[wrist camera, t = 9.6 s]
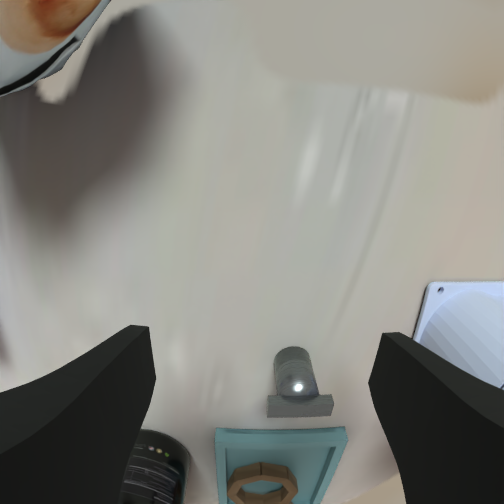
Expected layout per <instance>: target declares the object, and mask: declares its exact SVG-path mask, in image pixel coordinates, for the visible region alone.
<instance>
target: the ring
mask: <svg viewBox="0 0 504 504" xmlns="http://www.w3.org/2000/svg"><path fill="white" fill-rule="evenodd" d="M260 480H263V481H270V482H276V483H282V485H283V487H282V488H281V490H279V491H275V492H271V493H268V494H264V495H261V494H255V493H249V492H245V491H244V490H243V489H242V488H241V486H242V485H245V484H249V483H253V482H256V481H260ZM297 493H298V485H297V479H296V477H295V476H294V475H293V474H292V472H291V471H290V470H289V468H288V467H286V466H282V465H276V464H270V463H265V462H261V463H260V462H258V463H254V464H251V465H247V466H243V467H240V468H236V469H235V470H234V471H233V473H232V475H231V477H230V479H229V480H228V482H227V496H228V497H229V498H230V499H231V500H232V501H233V502H234V503H235V504H293V503H292V502H291V500H292V499H293V498H294V497H295V495H296V494H297Z"/></svg>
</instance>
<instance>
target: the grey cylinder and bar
mask: <svg viewBox="0 0 504 504" xmlns="http://www.w3.org/2000/svg"><path fill="white" fill-rule="evenodd" d="M274 367H275V377H276V388H277V396H268V400H267V417H317V416H331V413H332V410H333V406H334V402H333V398H332V395H331V394H330V395H319V392H318V388H317V384H316V380H315V376H314V372H313V368H312V364H311V360H310V356H309V354H308V352H307V351H306V350H304V349H303V348H300V347H287V348H284V349H282V350H281V351H280V352H279V353H278V354H277V355H276V357H275V359H274Z"/></svg>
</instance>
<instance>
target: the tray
mask: <svg viewBox="0 0 504 504" xmlns="http://www.w3.org/2000/svg"><path fill="white" fill-rule="evenodd" d="M347 441H348V437H347V434H346V431H345V427H335V428H320V429H297V430H250V429H226V428H216V433H215V456H216V470H217V483H218V495H219V504H235V503H234V502H233V501H232V500H231V499H230V498H229V497H228V496H227V482H228V480H229V479H230V477H231V475H232V473H233V471H234V470H235V469H236V468H240V467H243V466H247V465H251V464H254V463H258V462H260V463H261V462H265V463H270V464H276V465H282V466H286V467H288V468H289V470H290V471H291V472H292V474H293V475H294V476H295V477H296V479H297V485H298V493H297V494H296V495H295V497H294V498H293V499H292V500H291V502H292V503H293V504H320V503H321V501H322V499H323V497H324V494H325V492H326V490H327V488H328V486H329V484H330V482H331V479H332V477H333V475H334V473H335V470H336V468H337V466H338V463H339V461H340V459H341V456H342V454H343V451H344V449H345V446H346V444H347ZM282 487H283V485H282V483H276V482H270V481H263V480H260V481H256V482H253V483H249V484H245V485H242V486H241V488H242V489H243V490H244V491H245V492H249V493H255V494H261V495H264V494H268V493H271V492H275V491H279V490H281V488H282Z"/></svg>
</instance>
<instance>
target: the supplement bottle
mask: <svg viewBox="0 0 504 504" xmlns="http://www.w3.org/2000/svg"><path fill="white" fill-rule="evenodd" d="M189 465H190V458H189V455H188V453H187V451H186V449H185V448H184V447H183V446H182V445H181V444H180V443H179V442H177V441H176V440H174V439H173V438H171V437H169V436H167V435H165V434H162V433H159V432H156V431H152V430H145V429H140V431H139V434H138V436H137V439H136V441H135V444H134V446H133V449H132V451H131V454H130V457H129V459H128V462H127V466H126V469H125V473H124V477H123V481H122V486H121V490H120V495H119V500H118V504H184V499H185V492H186V486H187V479H188V473H189Z"/></svg>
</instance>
